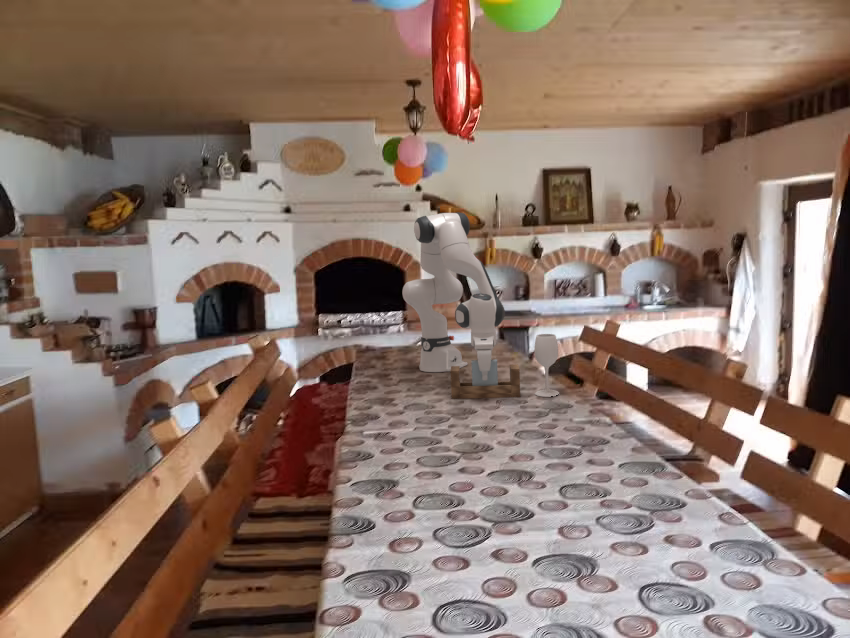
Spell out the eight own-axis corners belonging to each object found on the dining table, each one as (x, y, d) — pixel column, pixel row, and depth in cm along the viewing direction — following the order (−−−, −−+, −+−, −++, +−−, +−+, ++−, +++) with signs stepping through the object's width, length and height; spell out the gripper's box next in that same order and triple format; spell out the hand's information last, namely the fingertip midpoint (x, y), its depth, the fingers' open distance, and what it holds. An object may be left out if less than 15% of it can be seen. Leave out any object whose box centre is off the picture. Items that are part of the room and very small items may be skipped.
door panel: (497, 386, 234) (496, 359, 233) (498, 389, 231) (497, 361, 230) (472, 387, 235) (471, 360, 234) (472, 389, 232) (471, 362, 230)
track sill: (518, 391, 236) (518, 364, 235) (520, 397, 228) (519, 368, 227) (452, 393, 238) (451, 366, 237) (451, 398, 230) (450, 371, 229)
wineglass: (558, 390, 234) (557, 332, 232) (561, 396, 226) (559, 336, 223) (533, 391, 235) (532, 333, 233) (535, 397, 227) (534, 337, 224)
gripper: (474, 335, 241) (475, 372, 243) (474, 345, 221) (476, 385, 223) (491, 334, 241) (492, 371, 242) (493, 344, 220) (494, 384, 222)
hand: (484, 378), depth 232 cm, fingers closed on door panel, 3 cm apart
